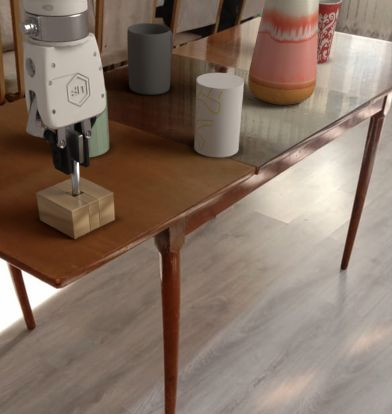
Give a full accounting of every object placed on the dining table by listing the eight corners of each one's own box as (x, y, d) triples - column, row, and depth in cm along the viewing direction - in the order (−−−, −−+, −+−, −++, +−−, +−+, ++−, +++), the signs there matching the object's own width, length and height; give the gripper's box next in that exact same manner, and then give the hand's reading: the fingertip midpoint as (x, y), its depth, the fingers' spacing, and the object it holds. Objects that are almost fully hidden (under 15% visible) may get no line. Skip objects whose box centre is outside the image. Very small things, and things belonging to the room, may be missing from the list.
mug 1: (155, 98, 133) (155, 37, 125) (120, 89, 136) (118, 29, 129) (188, 81, 142) (190, 23, 134) (155, 73, 145) (154, 16, 138)
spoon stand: (74, 239, 90) (71, 211, 87) (39, 220, 93) (35, 192, 91) (115, 219, 94) (113, 192, 91) (80, 202, 98) (77, 175, 95)
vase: (325, 98, 137) (352, -63, 117) (289, 115, 128) (312, -54, 109) (270, 82, 144) (287, -73, 124) (233, 97, 135) (245, -66, 115)
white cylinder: (186, 142, 116) (188, 76, 108) (224, 136, 119) (229, 70, 111) (207, 160, 111) (210, 91, 103) (246, 152, 114) (252, 85, 106)
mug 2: (337, 57, 159) (347, -3, 150) (324, 67, 153) (333, 5, 144) (291, 48, 164) (299, -10, 155) (276, 57, 158) (283, -4, 149)
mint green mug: (119, 147, 114) (117, 91, 107) (82, 162, 109) (76, 104, 102) (76, 128, 120) (71, 74, 113) (38, 142, 114) (30, 85, 108)
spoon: (81, 225, 93) (77, 136, 83) (67, 217, 94) (62, 128, 85) (87, 222, 94) (84, 134, 84) (74, 214, 95) (69, 126, 85)
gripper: (22, 45, 70) (43, 195, 82) (127, 20, 79) (131, 158, 91) (-17, 31, 73) (8, 177, 86) (87, 8, 83) (97, 143, 95)
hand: (72, 166), depth 88 cm, fingers closed
